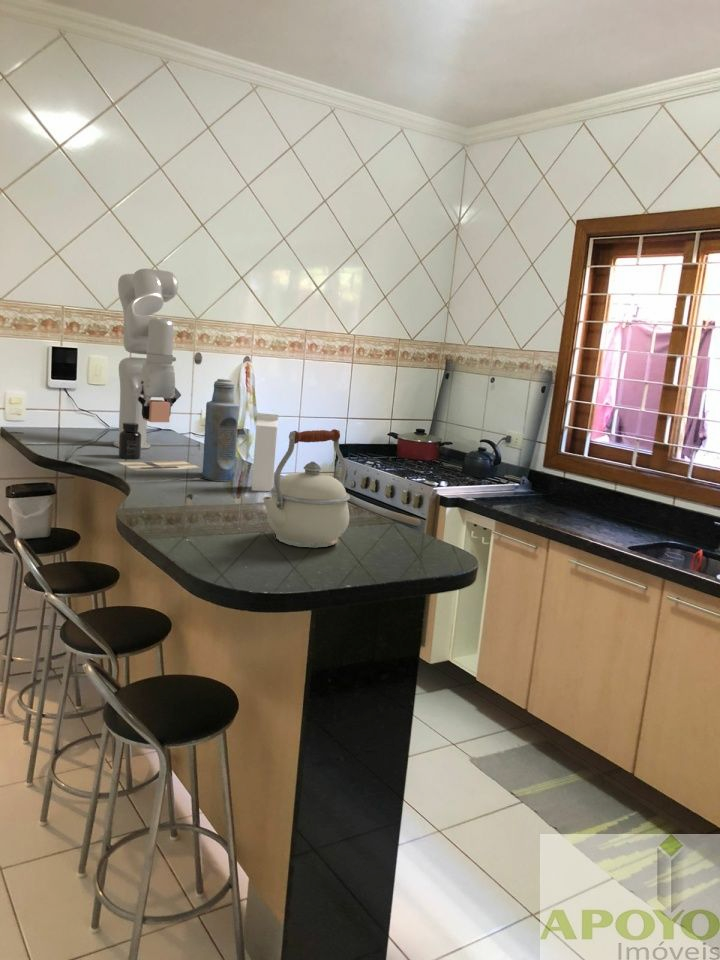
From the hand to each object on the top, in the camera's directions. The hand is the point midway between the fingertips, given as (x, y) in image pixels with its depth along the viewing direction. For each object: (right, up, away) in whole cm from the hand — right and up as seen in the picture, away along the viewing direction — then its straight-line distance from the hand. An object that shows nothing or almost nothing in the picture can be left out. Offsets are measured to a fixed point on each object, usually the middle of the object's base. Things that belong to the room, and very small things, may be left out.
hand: (155, 418), depth 237 cm
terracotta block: (0, -1, 0) cm, 1 cm away
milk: (+35, -22, -14) cm, 43 cm away
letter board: (0, -15, +4) cm, 16 cm away
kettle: (+50, -33, -66) cm, 89 cm away
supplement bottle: (-12, -13, +12) cm, 21 cm away
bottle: (+20, -19, -4) cm, 28 cm away
